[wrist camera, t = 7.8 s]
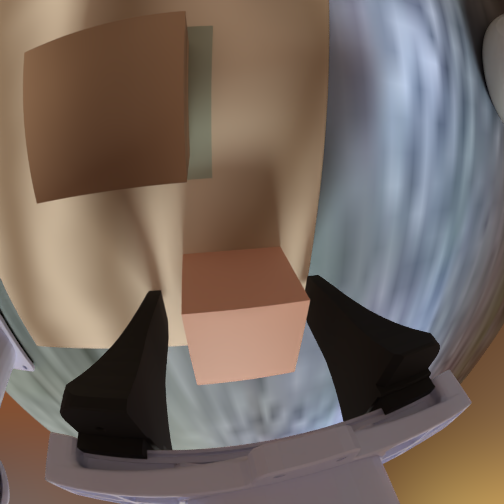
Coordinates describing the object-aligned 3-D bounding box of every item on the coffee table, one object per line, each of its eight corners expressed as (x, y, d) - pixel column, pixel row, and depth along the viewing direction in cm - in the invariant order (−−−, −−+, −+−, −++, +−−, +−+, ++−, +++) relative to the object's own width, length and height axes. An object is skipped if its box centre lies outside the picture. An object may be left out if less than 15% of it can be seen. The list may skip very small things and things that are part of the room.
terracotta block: (193, 325, 15) (197, 385, 11) (182, 254, 12) (181, 314, 9) (273, 316, 16) (294, 371, 12) (280, 246, 13) (310, 300, 10)
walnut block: (82, 169, 9) (36, 203, 6) (76, 63, 7) (24, 52, 4) (189, 155, 10) (186, 182, 7) (189, 43, 8) (185, 10, 4)
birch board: (41, 335, 14) (37, 346, 13) (-9, -13, 2) (-18, -16, 1) (293, 320, 18) (298, 332, 17) (315, -68, 5) (323, -77, 4)
